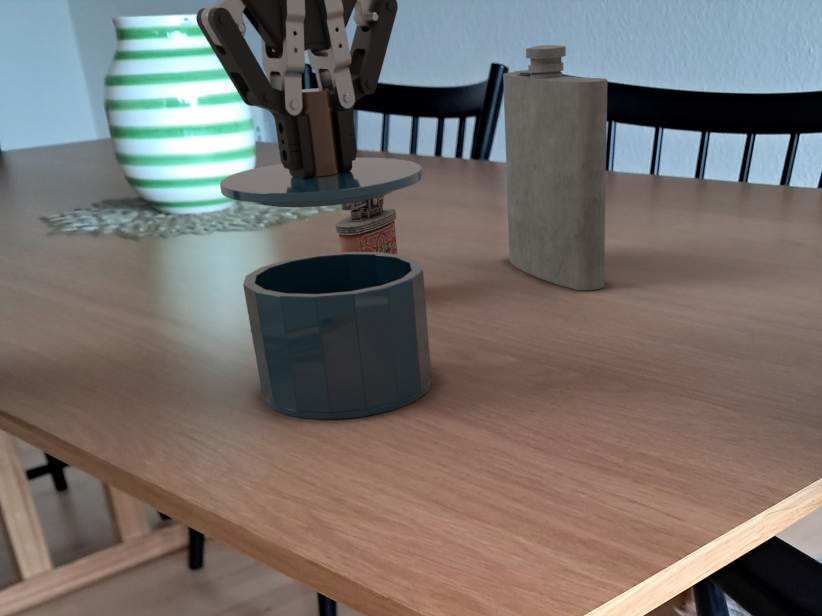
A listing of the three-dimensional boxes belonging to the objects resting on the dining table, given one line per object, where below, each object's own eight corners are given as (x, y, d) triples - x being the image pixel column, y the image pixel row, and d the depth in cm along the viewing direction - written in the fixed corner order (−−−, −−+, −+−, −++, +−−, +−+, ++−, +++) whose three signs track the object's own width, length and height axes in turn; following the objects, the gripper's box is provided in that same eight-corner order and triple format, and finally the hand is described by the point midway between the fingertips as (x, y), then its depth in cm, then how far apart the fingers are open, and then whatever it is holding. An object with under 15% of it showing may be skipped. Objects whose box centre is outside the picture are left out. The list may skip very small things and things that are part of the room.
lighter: (381, 287, 101) (370, 178, 96) (410, 289, 100) (401, 179, 94) (337, 309, 95) (322, 194, 90) (368, 311, 94) (355, 196, 88)
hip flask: (610, 286, 97) (615, 45, 86) (573, 294, 95) (574, 49, 84) (530, 256, 109) (525, 41, 98) (496, 261, 107) (488, 44, 96)
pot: (259, 426, 71) (237, 303, 66) (268, 369, 81) (250, 259, 76) (438, 410, 72) (428, 287, 67) (424, 355, 82) (415, 246, 77)
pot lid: (214, 220, 63) (193, 108, 59) (231, 184, 74) (214, 88, 71) (431, 203, 64) (423, 92, 60) (415, 169, 75) (408, 74, 72)
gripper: (349, -142, 65) (378, 155, 74) (141, -143, 58) (202, 183, 67) (415, -156, 59) (436, 164, 69) (195, -160, 53) (253, 196, 62)
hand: (320, 172), depth 68 cm, fingers closed on pot lid, 2 cm apart
